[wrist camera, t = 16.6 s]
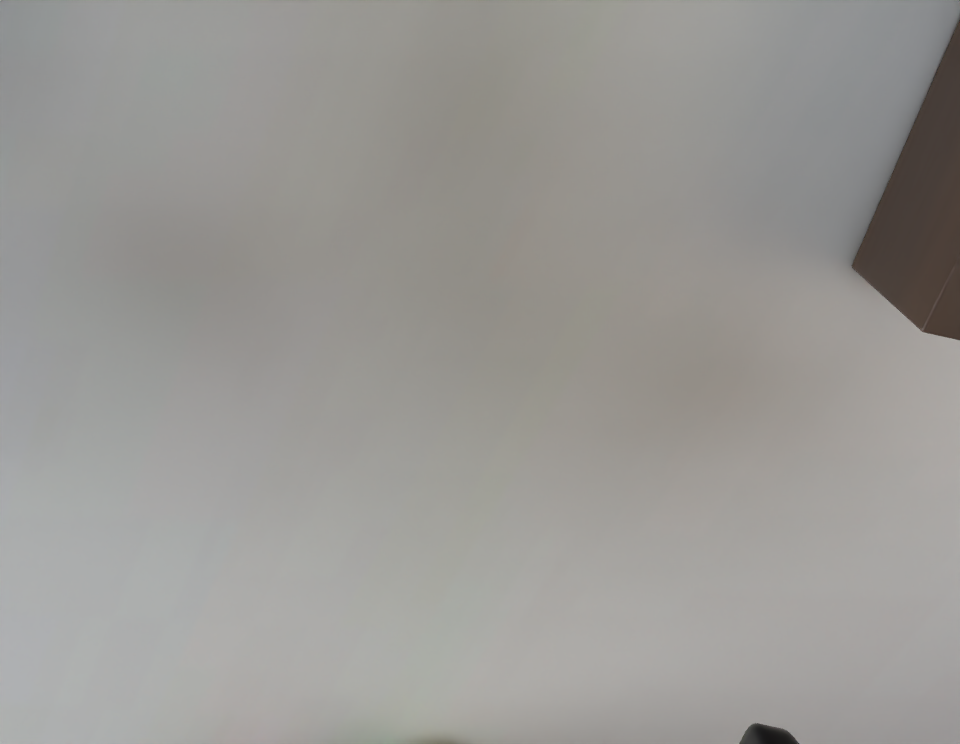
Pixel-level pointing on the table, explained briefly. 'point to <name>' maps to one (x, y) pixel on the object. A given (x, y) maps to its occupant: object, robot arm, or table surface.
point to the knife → (923, 214)
